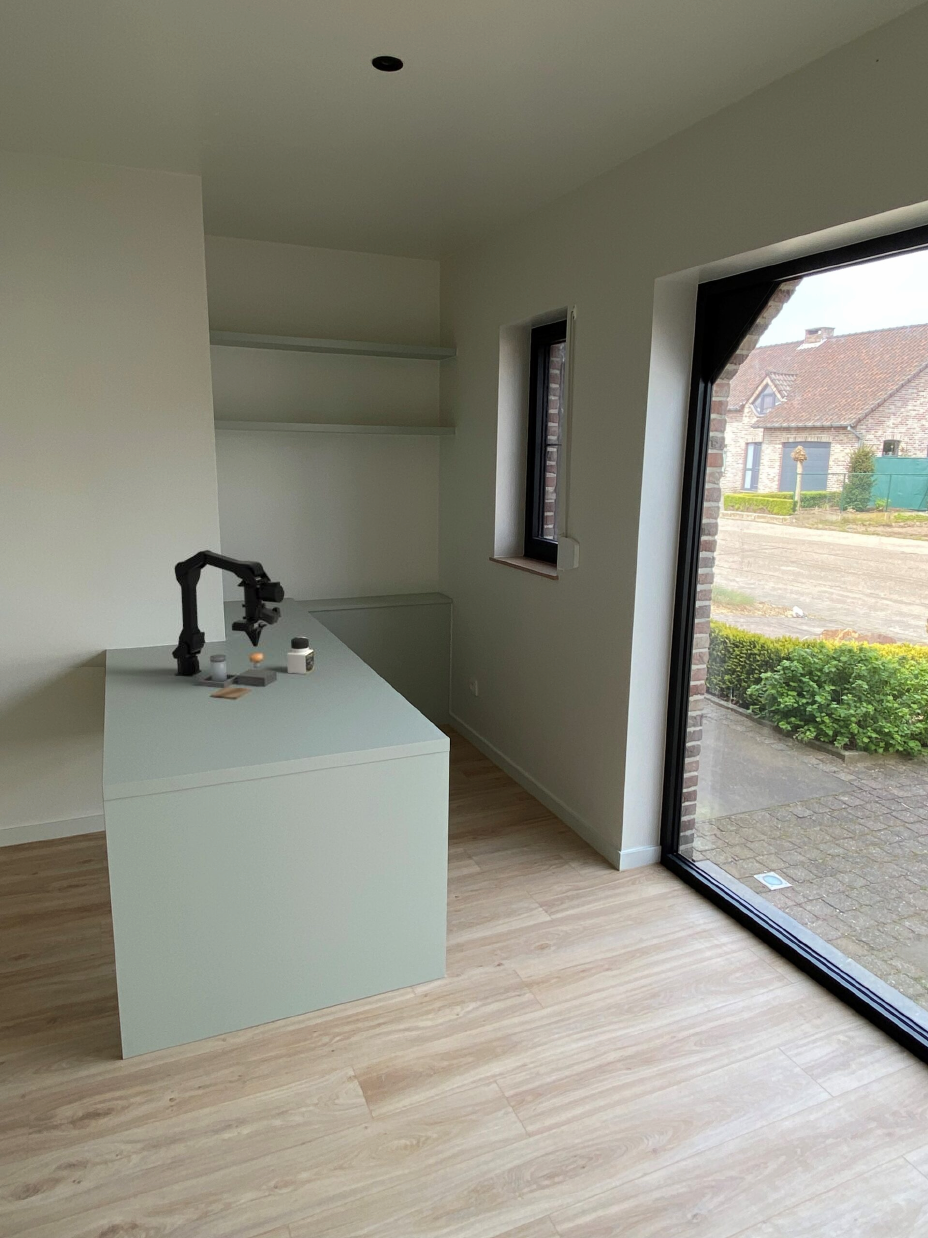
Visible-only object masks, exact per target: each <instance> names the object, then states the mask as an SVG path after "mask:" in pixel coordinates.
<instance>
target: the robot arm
mask: <svg viewBox="0 0 928 1238" xmlns="http://www.w3.org/2000/svg"><path fill="white" fill-rule="evenodd" d="M206 566H210V567H211V566H212V567H215V568H218V569H219V570H220V569H221V570H224V571H227V572H230V573H232V574H234V575H235V576H236V577H237V578H238V579H241V581H240V582H239V583H238V584H237V587H239V588H240V587H241V588H243V600H244V601H243V602H244V603H242V604H241V607H242V608H244V615H242V619H238V620H236V621H233V623H231V631H232V632H244V633H245V634H246V635H247V637H248V639H249V641H250V643H251V644H252V646H253V647H255V648H256V647H258V645H259V642H260V638H261V636H262V631H263V630H264V629H265V628H266V627H267V626H268V625H270V626H271V625H274V624H276V623H278V621H279V618H281V617H282V615H281V609H280V607H278V606H275V607H274V606H273V608H271V607H270V608H268V607H267V605H266V603H277V604H280V603H282V602H283V601H284V598H285V590H284V588H283V586H282V585H281V582H280V581H271V578H270V577H269V575H268V574H267V572H266V571H265V569H264V567H263V564H262V563H261V562H259V561H254V560H253V561H252V560H239V559H235V558H232V557H229V556H226V555H223V554H220V553H217V552H214V551H212V550H210V549H209V550H208V549H205V550H201V551H198V552H197V553H195V554H194V555H193V556H190V557H189V558H187V559H185V560H182V561H178V563H176V565H174V574H175V580H176V582H177V583H178V585H179V586H180V596H181V616H182V618H181V619H182V629H181V631H180V634H179V637H178V640H177V641H178V642H177V643H178V644H177V646H176V648H175V649H174V650H173V651H172V652H171V654H172V658H173V659H175V660H176V663H177V672H175V674H174V675H176V676H184V677H192V676H195V675H197V674H198V673H201V672H202V669H200V661H199V658H198V655H201V653H202V649H203V648H204V645H205V643H206V640H205V639H206V637H205V635H206V634H205V631H201V630H200V628H199V621H198V620H199V619H198V618H199V617H198V598H197V597H198V596H197V593H198V592H197V585H198V583H199V581H200V579H201V573H202V570H204V568H205V567H206Z"/></svg>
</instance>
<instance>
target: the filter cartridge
mask: <svg viewBox="0 0 928 1238" xmlns="http://www.w3.org/2000/svg"><path fill="white" fill-rule="evenodd" d="M209 661H210V675H211V679H212V680H211V681H215V682H225V681H227V680H228V679H227V674H228V672H227V657H226V655H225V654H213V655H210V656H209Z"/></svg>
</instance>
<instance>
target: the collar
mask: <svg viewBox="0 0 928 1238" xmlns="http://www.w3.org/2000/svg"><path fill="white" fill-rule="evenodd" d="M238 675H239V674H233V673H227V681H225V682H215V681H212V679H211V674H209V675H206V676H205V677H203V678H200V679H198V680H197V685H198V686H202V687H210V688H211V687H212V688H213V687H214V688H221V689H223V688H225V687H230V686H231V685H233V684H234V683H236V682H238Z"/></svg>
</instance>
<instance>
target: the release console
mask: <svg viewBox="0 0 928 1238" xmlns="http://www.w3.org/2000/svg"><path fill="white" fill-rule="evenodd" d="M237 675H238V681H237V684H238V685H246V686H254V687H255V686H257V687H266V686H269V685H270V684H272V683H274V682H275V681H277V680H278V679H277V677H278V675H277V670H276V671H275V670H266V669H258V668H249V669H247V670H245V671H243V672H241V673H239V674H237Z"/></svg>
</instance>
